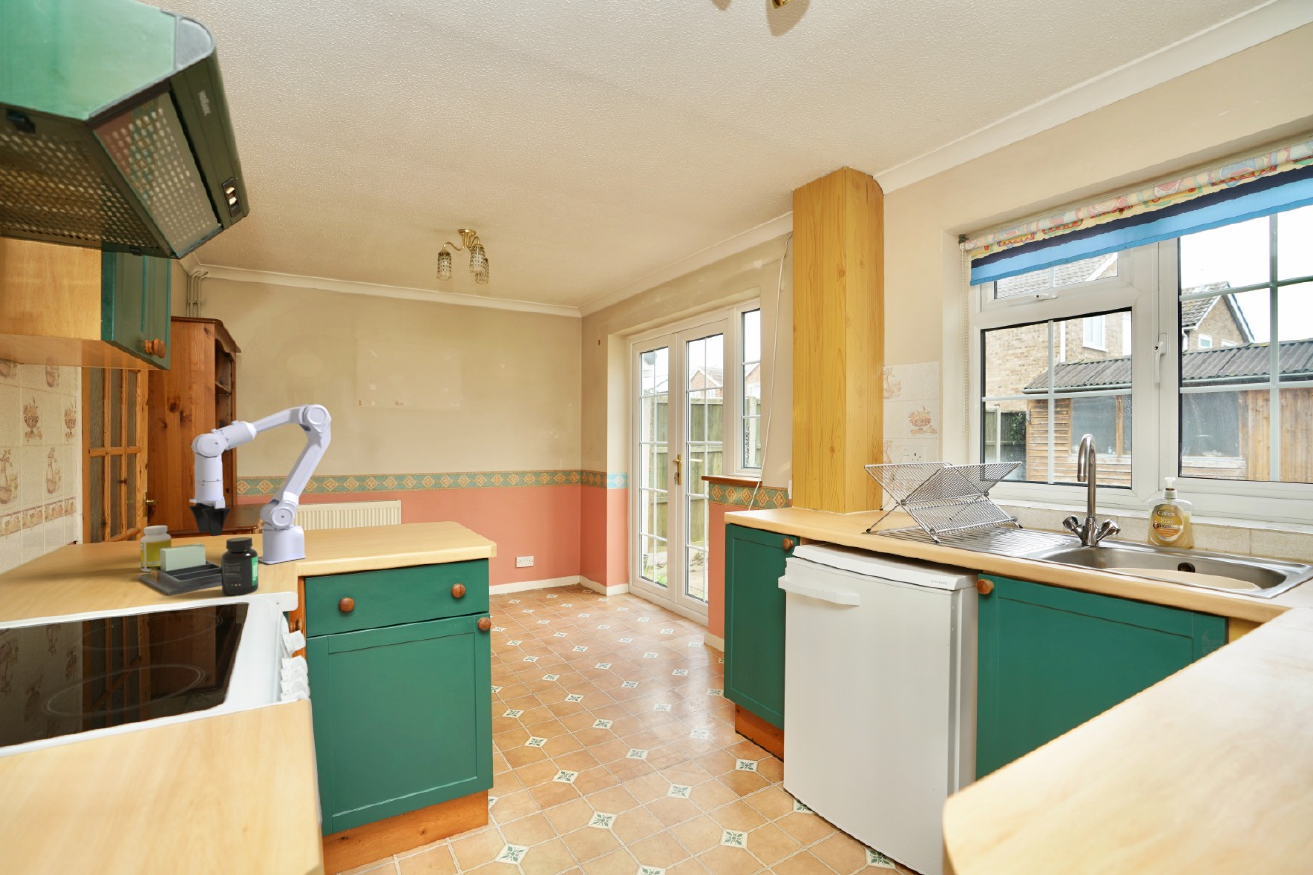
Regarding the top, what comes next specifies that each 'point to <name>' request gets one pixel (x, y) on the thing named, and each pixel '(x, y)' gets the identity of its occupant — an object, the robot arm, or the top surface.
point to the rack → (184, 578)
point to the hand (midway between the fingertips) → (210, 533)
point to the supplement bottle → (239, 567)
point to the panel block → (182, 556)
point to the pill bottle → (153, 546)
